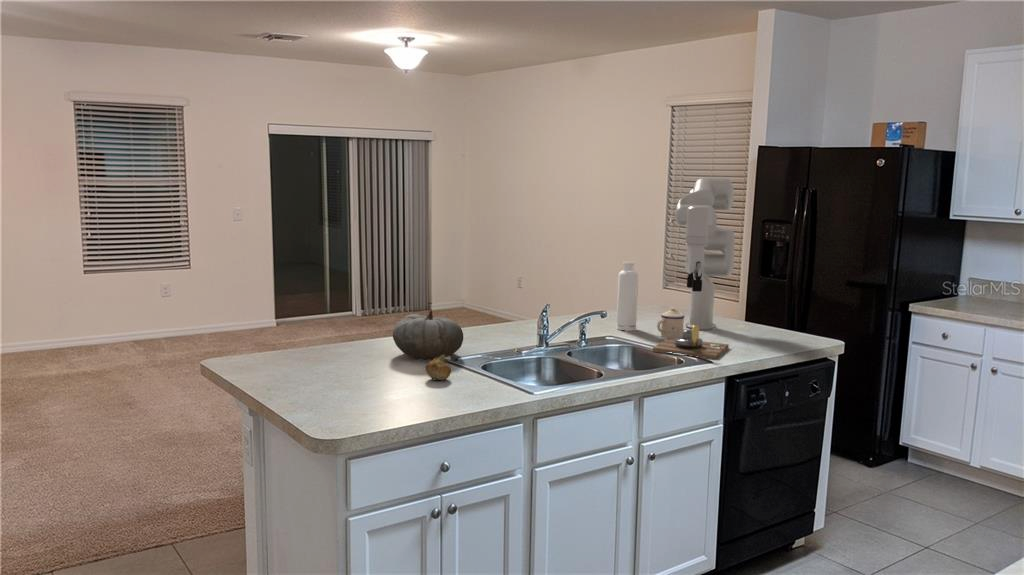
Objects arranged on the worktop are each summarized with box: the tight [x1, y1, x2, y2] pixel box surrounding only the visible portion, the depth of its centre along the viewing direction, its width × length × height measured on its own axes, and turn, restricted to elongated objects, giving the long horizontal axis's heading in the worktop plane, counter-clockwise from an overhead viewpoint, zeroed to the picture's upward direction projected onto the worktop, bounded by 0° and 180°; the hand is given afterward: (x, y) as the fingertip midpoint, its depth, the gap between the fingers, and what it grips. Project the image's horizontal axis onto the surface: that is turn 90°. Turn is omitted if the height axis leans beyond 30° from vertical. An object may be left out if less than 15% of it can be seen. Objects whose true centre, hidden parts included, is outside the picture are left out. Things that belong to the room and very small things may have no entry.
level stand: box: [652, 337, 730, 360], centre depth 294 cm, size 20×23×2 cm
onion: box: [425, 355, 452, 381], centre depth 249 cm, size 8×8×8 cm
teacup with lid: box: [656, 307, 685, 339], centre depth 314 cm, size 12×9×12 cm
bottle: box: [616, 260, 639, 332], centre depth 327 cm, size 8×8×28 cm
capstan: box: [675, 325, 703, 348], centre depth 290 cm, size 15×10×9 cm
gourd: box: [392, 309, 464, 361], centre depth 278 cm, size 25×25×17 cm
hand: (694, 289), depth 282 cm, fingers open, 9 cm apart
